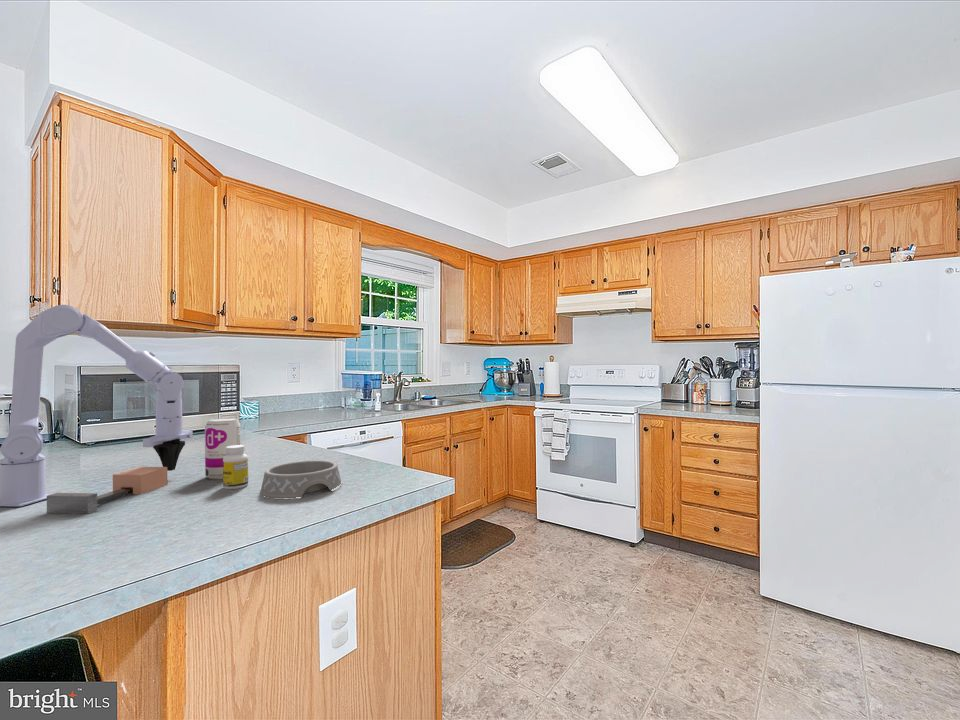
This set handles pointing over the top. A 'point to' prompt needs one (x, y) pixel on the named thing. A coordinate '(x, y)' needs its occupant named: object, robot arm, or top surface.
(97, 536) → the top surface
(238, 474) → the supplement bottle
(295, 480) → the dog bowl
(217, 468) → the supplement can
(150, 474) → the block
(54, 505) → the rail
